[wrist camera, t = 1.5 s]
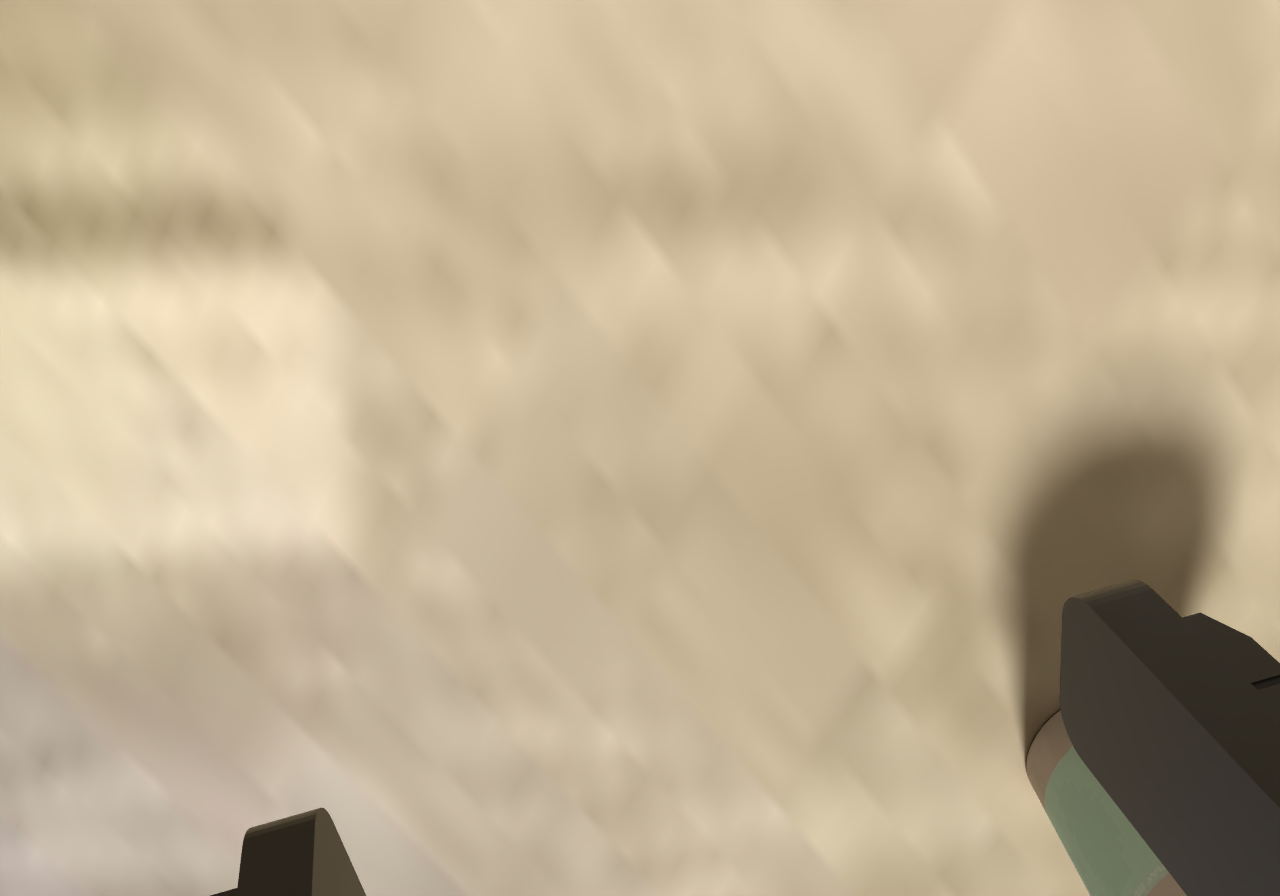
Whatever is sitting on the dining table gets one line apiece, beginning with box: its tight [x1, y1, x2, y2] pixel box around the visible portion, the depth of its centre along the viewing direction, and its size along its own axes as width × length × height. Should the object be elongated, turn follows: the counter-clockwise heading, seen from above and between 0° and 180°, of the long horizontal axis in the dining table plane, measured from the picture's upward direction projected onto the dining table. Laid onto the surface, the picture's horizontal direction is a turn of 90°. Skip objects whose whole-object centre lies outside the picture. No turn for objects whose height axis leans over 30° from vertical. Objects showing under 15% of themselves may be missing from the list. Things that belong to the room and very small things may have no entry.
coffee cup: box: [1027, 710, 1187, 896], centre depth 40 cm, size 9×9×12 cm
